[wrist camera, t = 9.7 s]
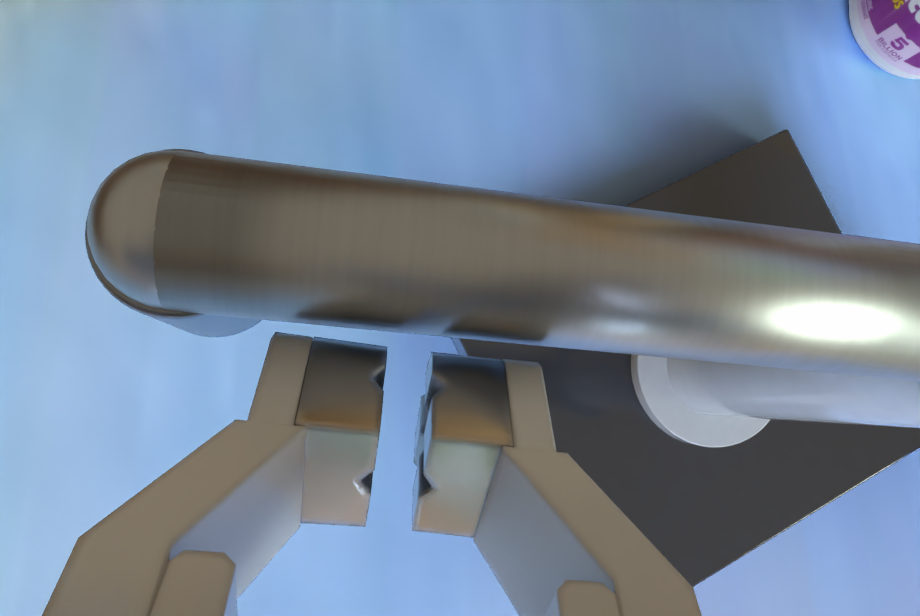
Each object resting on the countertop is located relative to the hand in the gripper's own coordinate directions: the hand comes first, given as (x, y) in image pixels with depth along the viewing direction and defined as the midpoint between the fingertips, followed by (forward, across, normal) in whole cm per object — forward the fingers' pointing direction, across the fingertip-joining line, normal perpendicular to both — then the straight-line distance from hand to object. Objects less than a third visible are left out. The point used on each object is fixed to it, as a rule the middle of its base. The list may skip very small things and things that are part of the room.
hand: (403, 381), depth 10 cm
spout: (+3, -4, 0) cm, 5 cm away
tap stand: (+11, -11, +9) cm, 18 cm away
